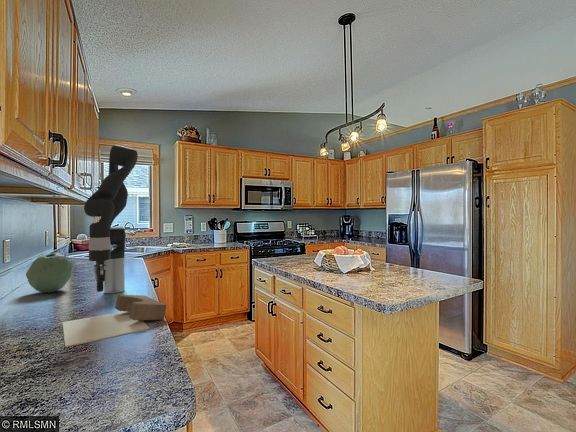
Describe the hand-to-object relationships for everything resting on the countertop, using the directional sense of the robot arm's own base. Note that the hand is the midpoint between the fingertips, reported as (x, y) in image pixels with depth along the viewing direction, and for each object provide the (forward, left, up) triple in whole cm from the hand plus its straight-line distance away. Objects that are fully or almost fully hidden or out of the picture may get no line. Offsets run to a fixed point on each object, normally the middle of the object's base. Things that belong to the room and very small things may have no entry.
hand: (100, 291), depth 123 cm
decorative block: (+8, +10, -4) cm, 13 cm away
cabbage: (-54, -16, -8) cm, 57 cm away
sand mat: (+21, -1, -8) cm, 23 cm away
